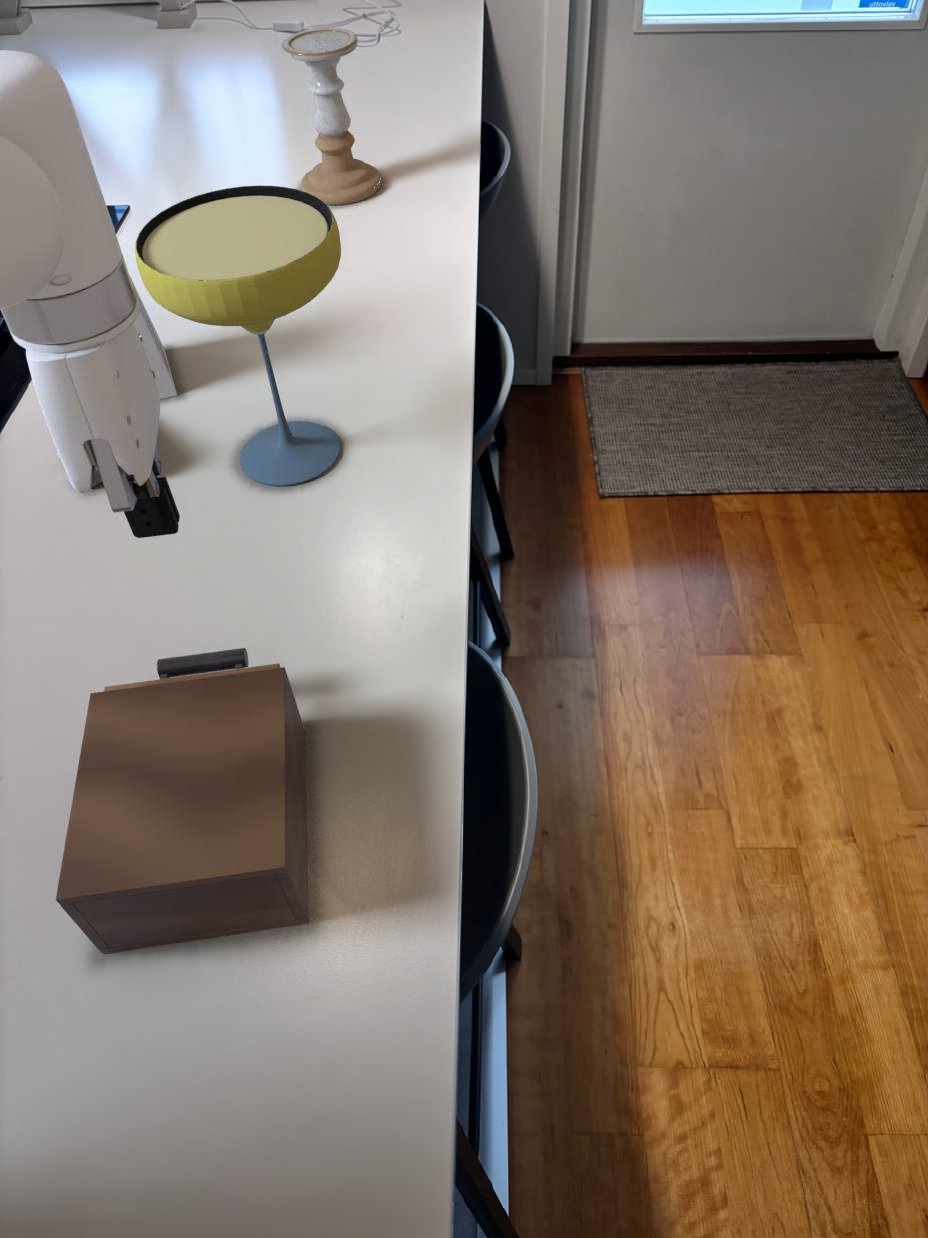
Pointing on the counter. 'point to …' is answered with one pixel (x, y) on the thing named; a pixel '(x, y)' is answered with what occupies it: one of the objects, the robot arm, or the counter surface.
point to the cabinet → (188, 813)
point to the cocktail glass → (249, 292)
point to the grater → (154, 352)
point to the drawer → (199, 667)
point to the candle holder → (331, 118)
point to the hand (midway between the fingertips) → (158, 528)
